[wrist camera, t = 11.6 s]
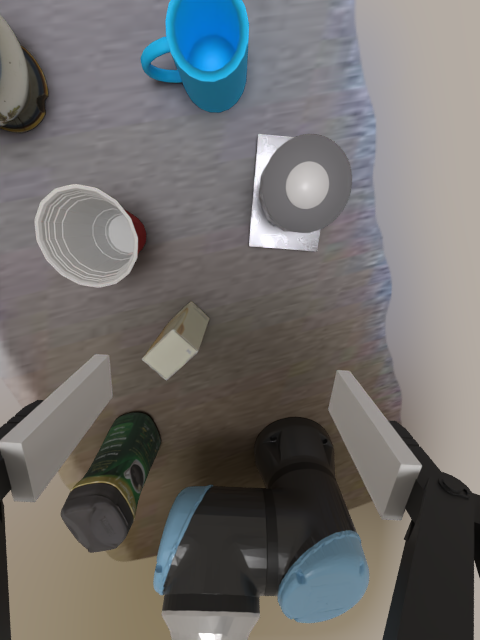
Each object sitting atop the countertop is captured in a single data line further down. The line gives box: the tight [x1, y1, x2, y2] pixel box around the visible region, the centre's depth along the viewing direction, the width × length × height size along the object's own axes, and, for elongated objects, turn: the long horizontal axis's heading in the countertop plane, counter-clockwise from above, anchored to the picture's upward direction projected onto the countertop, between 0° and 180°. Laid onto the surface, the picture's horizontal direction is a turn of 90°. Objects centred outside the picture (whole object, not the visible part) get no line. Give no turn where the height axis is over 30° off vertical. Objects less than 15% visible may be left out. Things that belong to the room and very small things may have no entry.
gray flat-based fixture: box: [249, 134, 335, 251], centre depth 34 cm, size 14×10×10 cm
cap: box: [259, 134, 352, 233], centre depth 30 cm, size 9×9×4 cm
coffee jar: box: [61, 412, 161, 552], centre depth 44 cm, size 10×8×19 cm
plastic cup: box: [35, 184, 146, 288], centre depth 35 cm, size 11×11×12 cm
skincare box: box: [142, 301, 209, 380], centre depth 39 cm, size 6×4×12 cm
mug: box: [141, 0, 249, 113], centre depth 31 cm, size 12×8×8 cm
